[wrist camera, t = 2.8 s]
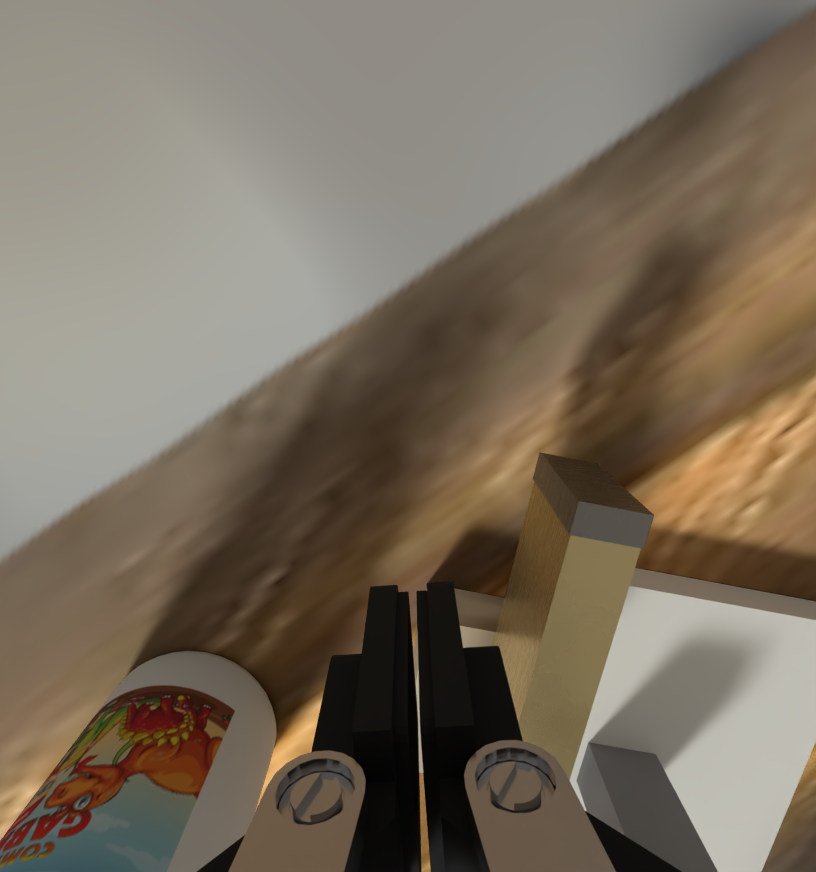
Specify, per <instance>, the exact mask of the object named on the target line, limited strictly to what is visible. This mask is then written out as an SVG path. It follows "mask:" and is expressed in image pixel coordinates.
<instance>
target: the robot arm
mask: <svg viewBox="0 0 816 872" xmlns="http://www.w3.org/2000/svg"><path fill="white" fill-rule="evenodd" d="M417 629H418V669H419V710H420V734H421V749H422V762H423V775H424V788H425V800H426V813H427V826H428V839H429V852H430V865H431V872H682V871H680V870H679V869H677V868H675V867H674V866H672V865H671V864H669V863H668V862H666V861H664V860H663V859H661V858H660V857H658V856H656V855H655V854H653V853H652V852H650V851H648V850H647V849H645V848H644V847H642V846H641V845H639V844H637V843H636V842H634V841H633V840H631V839H629V838H628V837H626V836H625V835H623V834H621V833H620V832H618V831H617V830H615V829H614V828H612V827H610V826H609V825H607V824H606V823H604V822H602V821H601V820H599V819H598V818H596V817H595V816H593V815H591V814H590V813H588V812H587V811H585V810H584V808H583V806H582V804H581V802H580V800H579V798H578V796H577V795H576V793H575V791H574V789H573V787H572V785H571V783H570V781H569V779H568V777H567V775H566V773H565V771H564V769H563V768H562V766H561V765H560V764H559V762H558V761H557V760H556V758H555V757H554V756H552V755H551V754H550V753H548V752H547V751H546V750H545V749H543V748H541V747H538V746H536V745H534V744H532V743H529V742H524V741H523V739H522V735H521V731H520V727H519V723H518V719H517V715H516V711H515V707H514V703H513V699H512V695H511V691H510V687H509V683H508V679H507V675H506V671H505V667H504V663H503V659H502V655H501V651H500V648H499V646H483V647H466V648H463V643H462V637H461V630H460V623H459V616H458V610H457V603H456V596H455V590H454V583H453V582H437V583H427V590H425V591H417ZM197 872H421V834H420V786H419V738H418V710H417V696H416V683H415V671H414V658H413V645H412V632H411V619H410V606H409V595H408V592H398V586H397V585H390V586H374V587H370V593H369V601H368V609H367V617H366V624H365V632H364V640H363V648H362V654H351V655H334V656H332V658H331V661H330V665H329V670H328V675H327V680H326V685H325V689H324V694H323V699H322V704H321V709H320V713H319V718H318V723H317V728H316V733H315V738H314V742H313V747H312V752H311V753H308V754H304V755H301V756H299V757H297V758H295V759H294V760H292V761H290V762H288V763H287V764H285V765H284V766H283V767H282V768H281V769H280V770H279V771H278V772H277V773H276V774H275V775H274V777H273V778H272V780H271V781H270V783H269V784H268V786H267V788H266V790H265V792H264V795H263V797H262V799H261V801H260V803H259V806H258V808H257V810H256V812H255V814H254V817H253V819H252V821H251V823H250V825H249V828H248V830H247V832H246V834H245V835H244V836H243V837H241V838H240V839H239V840H237V841H236V842H235V843H233V844H232V845H231V846H230V847H228V848H227V849H226V850H224V851H223V852H222V853H220V854H219V855H218V856H216V857H215V858H214V859H212V860H211V861H210V862H209V863H207V864H206V865H205V866H203V867H202V868H201V869H199V870H198V871H197Z"/></svg>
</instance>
